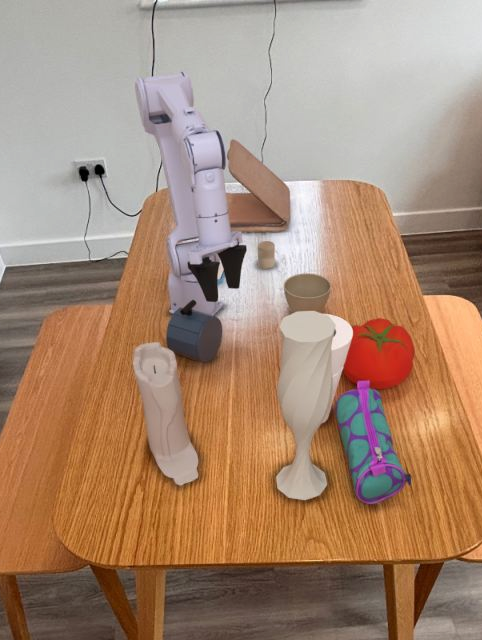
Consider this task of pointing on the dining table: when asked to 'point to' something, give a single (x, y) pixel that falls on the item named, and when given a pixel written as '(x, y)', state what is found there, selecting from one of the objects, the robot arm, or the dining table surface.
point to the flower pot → (307, 292)
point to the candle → (164, 412)
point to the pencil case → (369, 445)
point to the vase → (305, 395)
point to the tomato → (379, 354)
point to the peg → (266, 255)
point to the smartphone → (220, 274)
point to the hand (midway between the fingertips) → (223, 294)
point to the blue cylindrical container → (194, 333)
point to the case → (256, 194)
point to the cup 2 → (339, 351)
